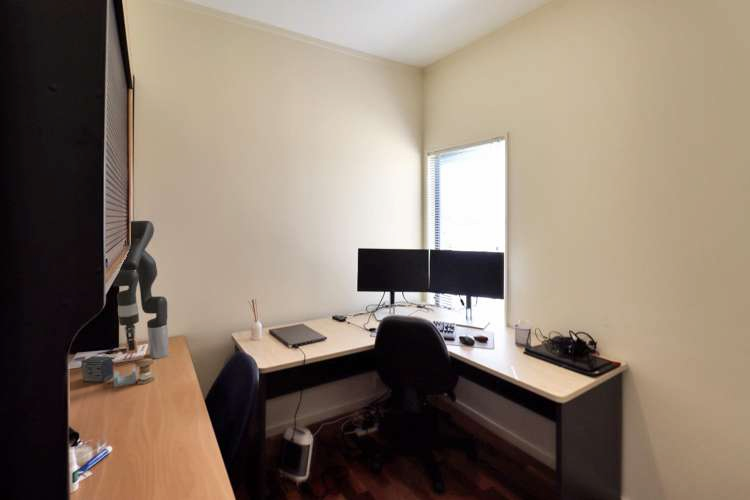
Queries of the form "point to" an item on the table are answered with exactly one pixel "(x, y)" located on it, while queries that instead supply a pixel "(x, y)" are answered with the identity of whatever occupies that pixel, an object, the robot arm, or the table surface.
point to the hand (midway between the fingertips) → (132, 348)
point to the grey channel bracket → (124, 378)
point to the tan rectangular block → (132, 350)
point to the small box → (97, 369)
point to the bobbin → (144, 371)
